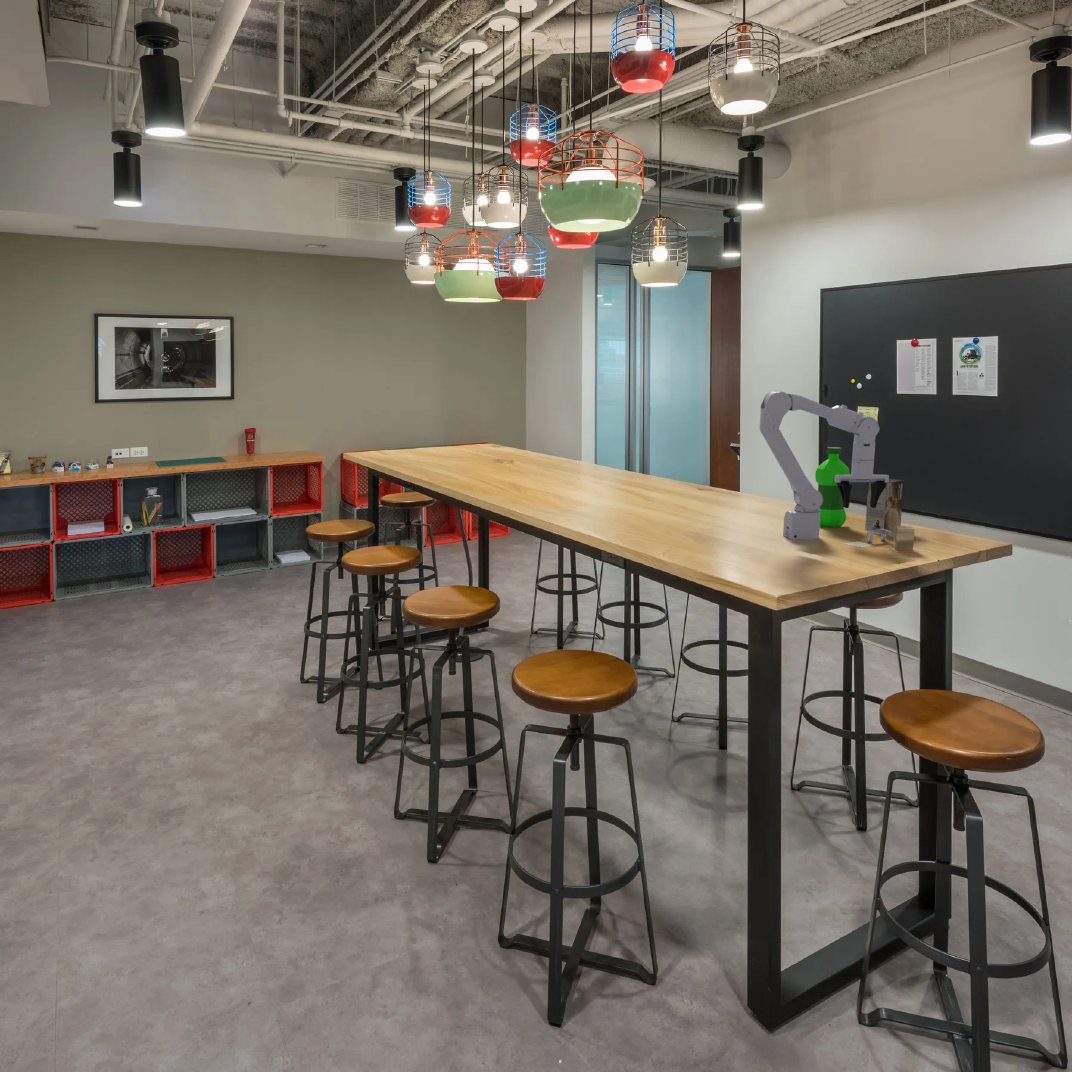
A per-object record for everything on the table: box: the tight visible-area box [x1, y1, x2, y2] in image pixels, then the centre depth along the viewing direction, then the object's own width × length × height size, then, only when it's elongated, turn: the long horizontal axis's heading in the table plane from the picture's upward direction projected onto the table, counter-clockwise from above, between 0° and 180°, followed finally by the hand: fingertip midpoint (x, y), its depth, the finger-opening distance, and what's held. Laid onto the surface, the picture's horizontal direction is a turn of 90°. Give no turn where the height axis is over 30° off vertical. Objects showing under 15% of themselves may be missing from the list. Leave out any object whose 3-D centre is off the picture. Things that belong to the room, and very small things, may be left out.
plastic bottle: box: [814, 446, 851, 528], centre depth 252 cm, size 10×10×25 cm
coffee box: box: [864, 478, 905, 532], centre depth 244 cm, size 9×6×16 cm
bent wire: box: [865, 529, 895, 546], centre depth 223 cm, size 7×9×4 cm
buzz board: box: [843, 541, 919, 553], centre depth 221 cm, size 16×18×1 cm
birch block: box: [892, 525, 916, 553], centre depth 215 cm, size 4×4×6 cm
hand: (859, 507), depth 231 cm, fingers open, 7 cm apart
